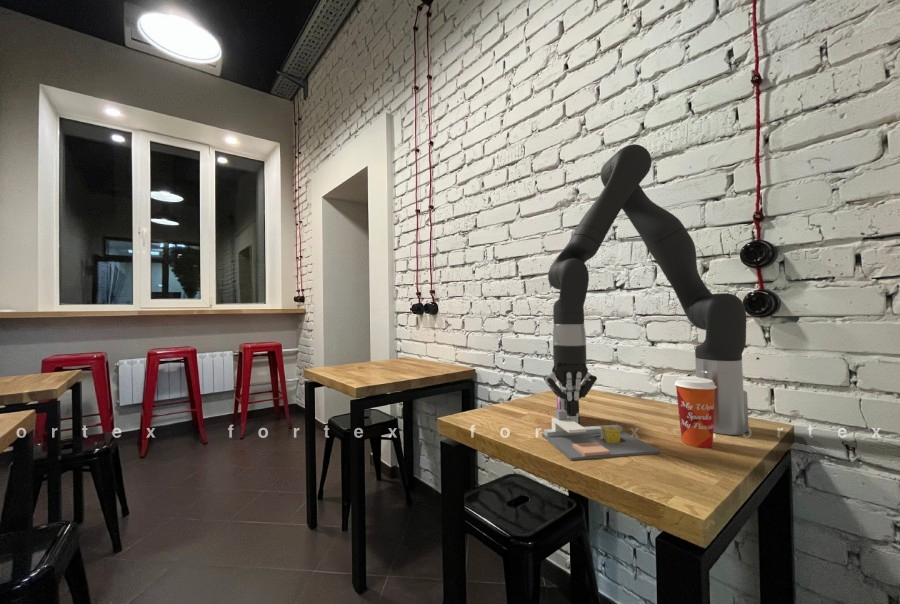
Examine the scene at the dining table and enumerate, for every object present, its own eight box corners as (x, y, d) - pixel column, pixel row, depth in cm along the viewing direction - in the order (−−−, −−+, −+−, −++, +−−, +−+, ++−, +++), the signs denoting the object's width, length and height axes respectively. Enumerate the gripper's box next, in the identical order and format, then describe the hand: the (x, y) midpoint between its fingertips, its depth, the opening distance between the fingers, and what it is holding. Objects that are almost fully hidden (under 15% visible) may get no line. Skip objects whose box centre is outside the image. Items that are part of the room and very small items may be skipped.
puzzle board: (617, 430, 88) (617, 423, 88) (660, 453, 73) (660, 445, 73) (541, 435, 85) (541, 429, 85) (571, 460, 70) (570, 452, 70)
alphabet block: (613, 438, 82) (613, 425, 82) (620, 443, 79) (620, 429, 79) (600, 438, 82) (600, 425, 82) (607, 444, 79) (606, 430, 79)
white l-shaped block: (567, 427, 85) (567, 408, 85) (586, 440, 77) (586, 419, 77) (551, 428, 85) (551, 409, 85) (569, 442, 76) (568, 420, 76)
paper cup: (680, 447, 76) (678, 381, 76) (673, 435, 83) (670, 375, 84) (725, 452, 73) (722, 383, 74) (713, 439, 80) (710, 377, 81)
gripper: (586, 340, 90) (588, 409, 89) (537, 342, 88) (538, 412, 87) (603, 343, 82) (606, 418, 82) (549, 345, 80) (551, 422, 80)
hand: (571, 415), depth 85 cm, fingers closed
